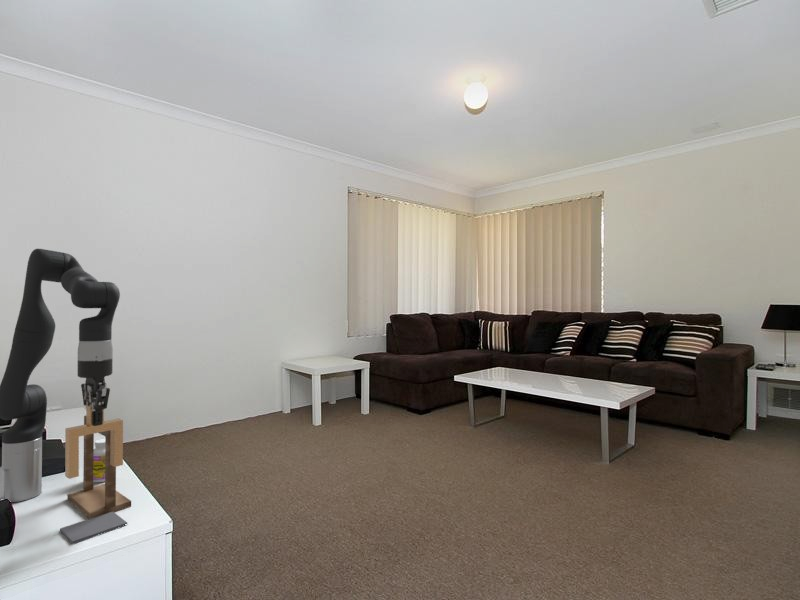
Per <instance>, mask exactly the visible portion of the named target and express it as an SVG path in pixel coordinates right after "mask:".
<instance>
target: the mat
mask: <svg viewBox="0 0 800 600" xmlns="http://www.w3.org/2000/svg"><path fill="white" fill-rule="evenodd" d="M125 524H127V525H128V522H127V521H126V520H124V518H122V517H121V516H120V515H118V514H117V513H116V512H110V513H107V514H104V515H101V516H97V517H94V518H91V519H90V518H88V519H85V520H82V521H79V522H77V523H76V522H75V523H72V524H70V525H67V526H64V527H60V528H59V531H60V533H61V534H62V536H64V537H65V538H66V539H67V540H68V541H69V542H70V543H71V544H72V545H73V544H77V543H79V542H82V541H85V540H88V539H91V538H94V537H96V535H97V536H99V535H98V534H100V535H102V534H101V533H103V534H105V533H108V532H111V531H113V529H114V530H117V529H119V528H118V527H120V528H122V527H121V526H123V525H125ZM125 526H126V525H125ZM123 527H124V526H123ZM116 528H117V529H116ZM110 530H111V531H110ZM107 531H108V532H107ZM104 532H105V533H104ZM93 536H94V537H93Z"/></svg>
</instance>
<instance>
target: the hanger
mask: <svg viewBox="0 0 800 600" xmlns="http://www.w3.org/2000/svg"><path fill="white" fill-rule="evenodd" d="M99 405H100V403H99ZM85 409H86V411H85V412H86V413H85V414H86V415H85V416H86V425H84V424H81V425H75V426H70V427H65V429H64V430H65V435H64V437H65V440H64V441H65V442H64V443H65V445H64V446H65V448H64V450H65V455H64V457H65V458H64V459H65V462H64V464H65V466H64V467H65V471H64V472H65V473H64V474H65V477H66V478H67V479H69V480H70V479H74V478H77V477H79V476H80V474H79V473H80V472H79V469H80V468H79V466H80V463H79V462H80V456H79V455H80V453H79V451H80V441H79V440H80V437H84V435H89V434H94V435H95V434H99V432H104V431H109V430H110V465H112V466H114V467H116V468H117V467H120V466H123V465H124V420H123V419H121V418H115V419H114V418H113V419H109V420H105V409H104V410H103V424H102V425H98V426H93V425H92V404H91V405H86V406H85Z"/></svg>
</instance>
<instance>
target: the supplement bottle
mask: <svg viewBox="0 0 800 600" xmlns="http://www.w3.org/2000/svg"><path fill="white" fill-rule="evenodd" d="M94 447H95V448H94V464H93V483H95V484H96V483H97V484H98V483H105V438H101V439H97V440H95V441H94Z"/></svg>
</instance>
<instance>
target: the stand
mask: <svg viewBox="0 0 800 600" xmlns="http://www.w3.org/2000/svg"><path fill="white" fill-rule="evenodd" d="M83 425H86V415H84V416H83ZM98 434H99V435H101V436H104V437H105V438H104V439H105V482H104V483H103V484H100V485H94V482H93V464H94V449H95V448H94V447H95V441H94V440H95V439H94V438H95V436H94V435H95V433H94V434H89V435H84V436H83V473H82V474H83V484H82V487H83V488H82V490H78V491H74V492H71V493H70V492H69V493H67V500H68V501H69V502H70V503H71V504H72V505H74V507H76V508H77V509H78V510H79V511H80V512H81V513H83V514H84V515H85V516H86V517H87V518H88V519H91V518H94V517H97V516H101V515H104V514H107V513H110V512H114V513H116V512H118V511H120V510H121V511H122V510H124V509H126V508H130V507H132V500H130V499H129V498H128V497H126V496H125V495H123V494H122V493H120V492H119V491H117V479H116V478H117V467H114V466H112V465H110V430H109V431H104V432H99V433H98Z"/></svg>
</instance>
